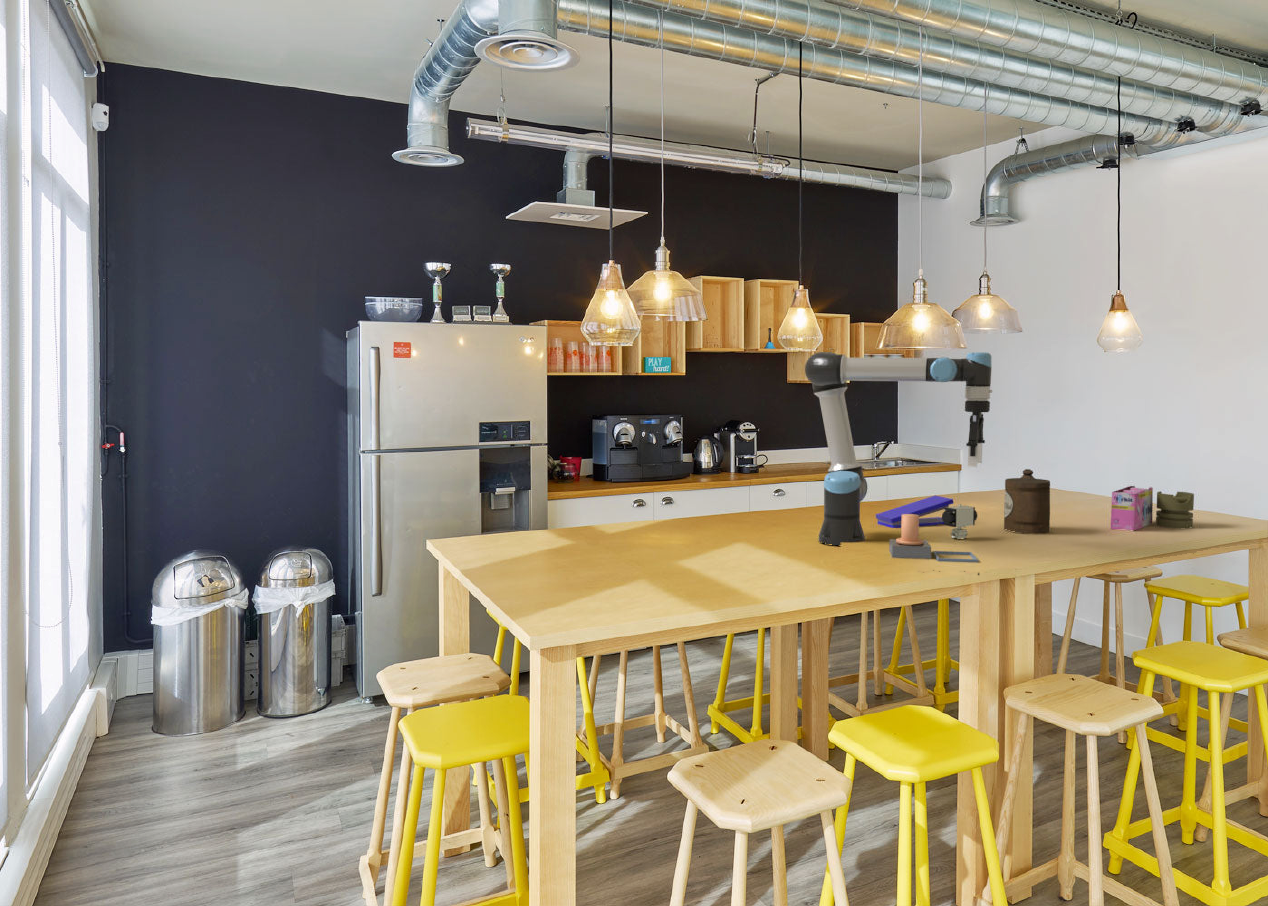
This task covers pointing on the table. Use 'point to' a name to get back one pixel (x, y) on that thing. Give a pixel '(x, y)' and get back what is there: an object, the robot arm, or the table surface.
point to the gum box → (1131, 508)
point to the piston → (1175, 510)
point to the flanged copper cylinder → (910, 530)
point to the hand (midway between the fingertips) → (974, 464)
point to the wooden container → (1027, 504)
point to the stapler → (915, 512)
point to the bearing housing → (910, 550)
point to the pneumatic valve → (959, 519)
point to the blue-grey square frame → (955, 554)
